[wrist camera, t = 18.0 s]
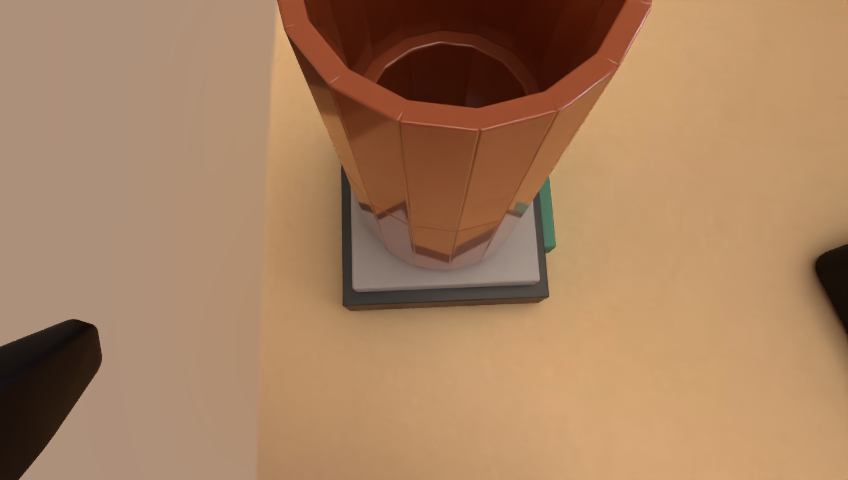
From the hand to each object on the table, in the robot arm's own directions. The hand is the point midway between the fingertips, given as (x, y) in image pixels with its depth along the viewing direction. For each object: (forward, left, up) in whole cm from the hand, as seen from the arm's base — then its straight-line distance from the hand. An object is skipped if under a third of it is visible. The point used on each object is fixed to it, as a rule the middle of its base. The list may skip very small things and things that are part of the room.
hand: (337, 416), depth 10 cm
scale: (+2, +7, -14) cm, 16 cm away
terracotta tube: (+2, +7, -11) cm, 13 cm away
